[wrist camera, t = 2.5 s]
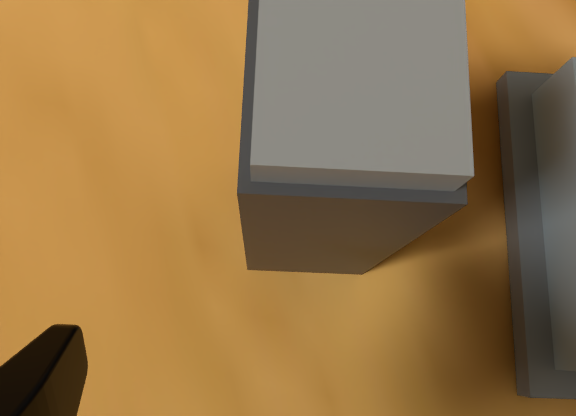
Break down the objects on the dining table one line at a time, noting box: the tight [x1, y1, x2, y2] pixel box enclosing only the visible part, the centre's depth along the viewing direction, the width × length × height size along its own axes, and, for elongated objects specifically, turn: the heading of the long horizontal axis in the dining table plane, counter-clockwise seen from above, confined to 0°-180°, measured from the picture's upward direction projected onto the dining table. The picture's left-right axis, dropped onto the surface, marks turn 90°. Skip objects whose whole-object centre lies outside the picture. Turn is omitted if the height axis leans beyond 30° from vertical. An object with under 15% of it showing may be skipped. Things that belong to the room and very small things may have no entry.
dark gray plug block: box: [237, 0, 474, 275], centre depth 16 cm, size 4×4×12 cm
